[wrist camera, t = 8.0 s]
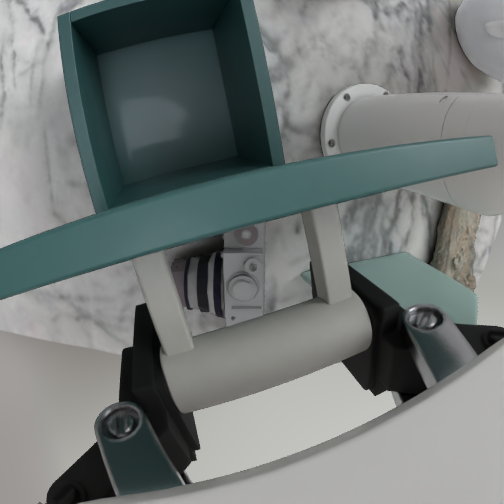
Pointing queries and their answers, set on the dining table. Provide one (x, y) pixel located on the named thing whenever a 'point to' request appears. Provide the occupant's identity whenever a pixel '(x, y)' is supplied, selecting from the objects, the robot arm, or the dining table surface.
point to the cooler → (167, 95)
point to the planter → (417, 285)
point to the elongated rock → (456, 245)
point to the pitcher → (482, 35)
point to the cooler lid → (233, 218)
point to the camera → (226, 277)
